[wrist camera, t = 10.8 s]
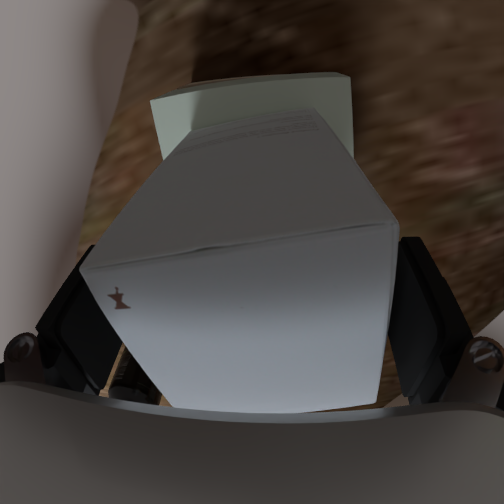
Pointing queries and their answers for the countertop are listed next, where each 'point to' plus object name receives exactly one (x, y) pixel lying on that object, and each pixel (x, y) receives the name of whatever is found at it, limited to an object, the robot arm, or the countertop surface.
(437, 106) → the countertop surface
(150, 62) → the countertop surface
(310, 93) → the tower top block
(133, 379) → the supplement bottle
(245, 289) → the supplement box
